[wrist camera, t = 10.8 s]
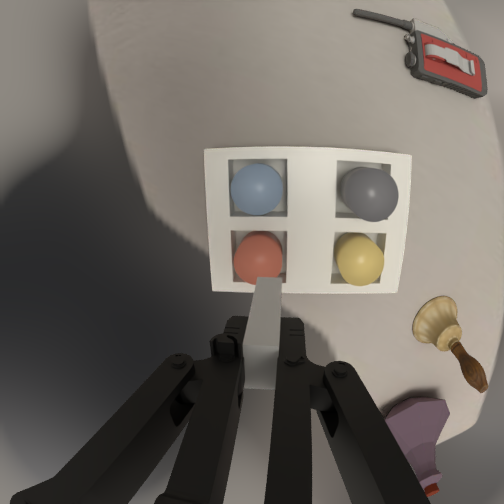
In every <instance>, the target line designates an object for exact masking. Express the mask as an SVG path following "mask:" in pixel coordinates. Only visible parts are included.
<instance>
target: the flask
mask: <svg viewBox="0 0 504 504" xmlns="http://www.w3.org/2000/svg"><path fill="white" fill-rule="evenodd" d="M449 415H450V412H449V410H448V407H447V404H446V401H445V400H442V399H435V398H428V397H416V398H408V399H407V400H405V401H403V402H401V403H399V404H398V405H396V406H394V407H393V408H392V409H391V411H390V412H389V414H388V415H387V417H386V418H385V422H386V423H387V425H388V427H389V429H390V430H391V432H392V434H393V436H394V437H395V439H396V441H397V443H398V445H399V446H400V448H401V450H402V452H403V453H404V455H405V457H406V459H407V460H408V462H409V463H410V464H411V466H412V467H413V469H414V470H415V473H416V476H417V479H418V481H419V483H420V485H421V486H422V488H423V489H424V490H425V494H426V496H427V497H428V496H431V495H433V494H436V493H437V492H438V491H439V488H438V486H437V482H438V481H439V480H440V479H441V477H442V474H441V473H440V472H439V471H438V470H437V469H436V464H435V445H436V442H437V440H438V438H439V436H440V433H441V431H442V429H443V427H444V425H445V423H446V421H447V419H448V417H449Z"/></svg>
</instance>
